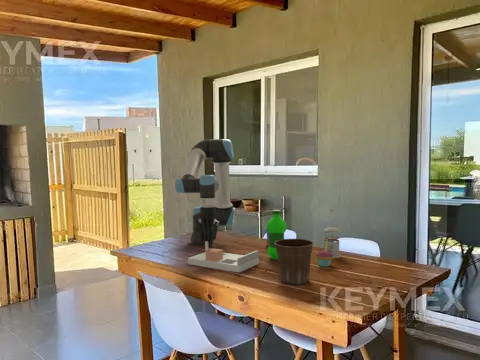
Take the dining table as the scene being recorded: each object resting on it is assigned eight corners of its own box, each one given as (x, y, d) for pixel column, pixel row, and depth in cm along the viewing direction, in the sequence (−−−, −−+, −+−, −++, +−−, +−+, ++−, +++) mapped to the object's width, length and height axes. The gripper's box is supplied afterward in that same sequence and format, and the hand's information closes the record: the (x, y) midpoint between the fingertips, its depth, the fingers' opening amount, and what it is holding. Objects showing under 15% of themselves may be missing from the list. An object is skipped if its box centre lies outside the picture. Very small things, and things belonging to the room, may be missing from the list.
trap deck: (187, 263, 187) (187, 250, 187) (209, 256, 202) (209, 244, 202) (239, 272, 171) (239, 258, 171) (258, 263, 186) (258, 250, 186)
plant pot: (287, 288, 148) (287, 248, 148) (267, 277, 163) (267, 240, 162) (321, 283, 155) (321, 244, 154) (300, 273, 170) (299, 237, 169)
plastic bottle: (290, 257, 197) (290, 210, 196) (278, 261, 189) (278, 212, 188) (275, 254, 204) (274, 208, 203) (263, 258, 196) (262, 210, 195)
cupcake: (321, 262, 188) (321, 238, 187) (337, 265, 182) (337, 240, 181) (311, 265, 182) (311, 240, 181) (327, 268, 176) (327, 243, 175)
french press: (330, 258, 194) (329, 210, 193) (316, 254, 205) (316, 208, 204) (345, 256, 199) (345, 209, 198) (331, 252, 209) (331, 207, 208)
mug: (261, 246, 226) (261, 228, 226) (271, 243, 233) (271, 226, 232) (277, 249, 218) (277, 230, 217) (287, 246, 224) (287, 228, 224)
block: (205, 259, 183) (205, 250, 182) (213, 257, 188) (212, 248, 188) (215, 261, 179) (215, 252, 179) (222, 258, 184) (222, 249, 184)
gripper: (192, 206, 185) (193, 254, 186) (213, 207, 178) (214, 257, 179) (201, 205, 191) (202, 251, 192) (223, 206, 184) (223, 254, 185)
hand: (208, 254), depth 186 cm, fingers closed
